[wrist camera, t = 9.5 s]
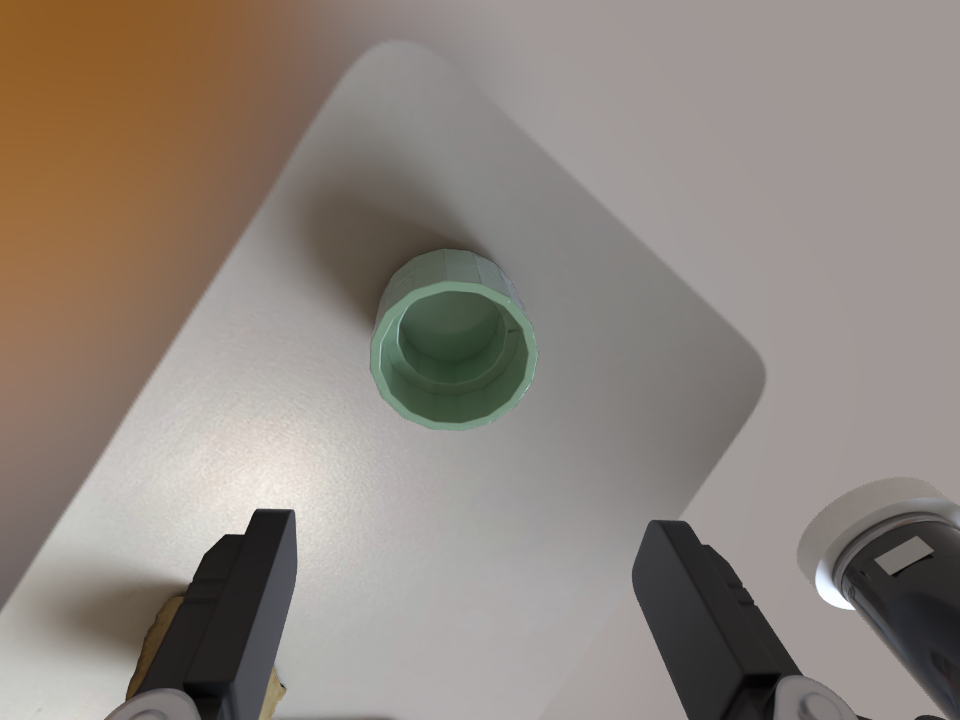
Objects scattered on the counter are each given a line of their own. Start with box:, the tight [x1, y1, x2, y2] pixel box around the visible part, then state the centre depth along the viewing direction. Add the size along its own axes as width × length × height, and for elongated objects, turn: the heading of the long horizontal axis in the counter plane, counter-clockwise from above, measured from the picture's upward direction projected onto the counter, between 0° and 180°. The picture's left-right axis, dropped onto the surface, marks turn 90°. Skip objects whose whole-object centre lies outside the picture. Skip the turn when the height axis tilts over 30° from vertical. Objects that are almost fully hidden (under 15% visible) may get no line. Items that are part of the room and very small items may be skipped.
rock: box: [125, 596, 287, 720], centre depth 30 cm, size 11×9×10 cm
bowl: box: [370, 249, 538, 431], centre depth 22 cm, size 6×6×5 cm
